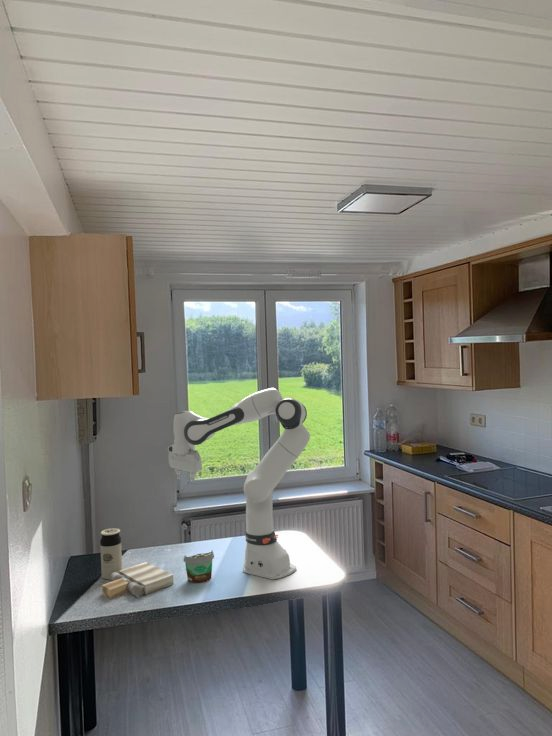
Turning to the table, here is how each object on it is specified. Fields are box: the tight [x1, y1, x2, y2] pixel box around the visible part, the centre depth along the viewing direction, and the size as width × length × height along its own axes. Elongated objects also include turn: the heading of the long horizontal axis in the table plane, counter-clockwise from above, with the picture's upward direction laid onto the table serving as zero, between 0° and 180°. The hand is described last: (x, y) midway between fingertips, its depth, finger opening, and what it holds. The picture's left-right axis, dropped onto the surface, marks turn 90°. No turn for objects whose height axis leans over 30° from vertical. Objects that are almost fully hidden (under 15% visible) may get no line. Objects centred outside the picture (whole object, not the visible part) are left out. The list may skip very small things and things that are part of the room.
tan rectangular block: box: [101, 577, 132, 600], centre depth 190 cm, size 6×10×4 cm, turn 135°
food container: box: [183, 550, 215, 584], centre depth 198 cm, size 12×6×10 cm, turn 117°
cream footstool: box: [108, 561, 174, 598], centre depth 197 cm, size 20×16×4 cm
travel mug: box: [99, 528, 123, 580], centre depth 206 cm, size 8×8×18 cm
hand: (185, 480), depth 221 cm, fingers open, 8 cm apart
